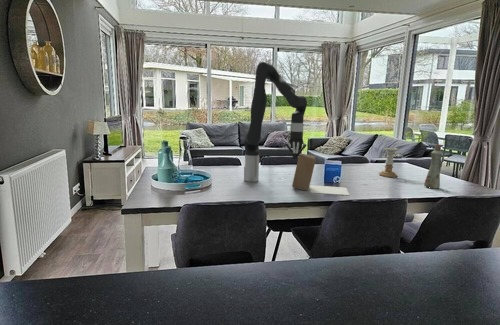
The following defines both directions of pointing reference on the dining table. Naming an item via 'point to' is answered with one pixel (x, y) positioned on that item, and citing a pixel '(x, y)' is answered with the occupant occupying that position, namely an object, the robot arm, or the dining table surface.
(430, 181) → the bottle
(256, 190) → the dining table surface
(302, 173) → the block
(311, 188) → the mat
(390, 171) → the candle holder
